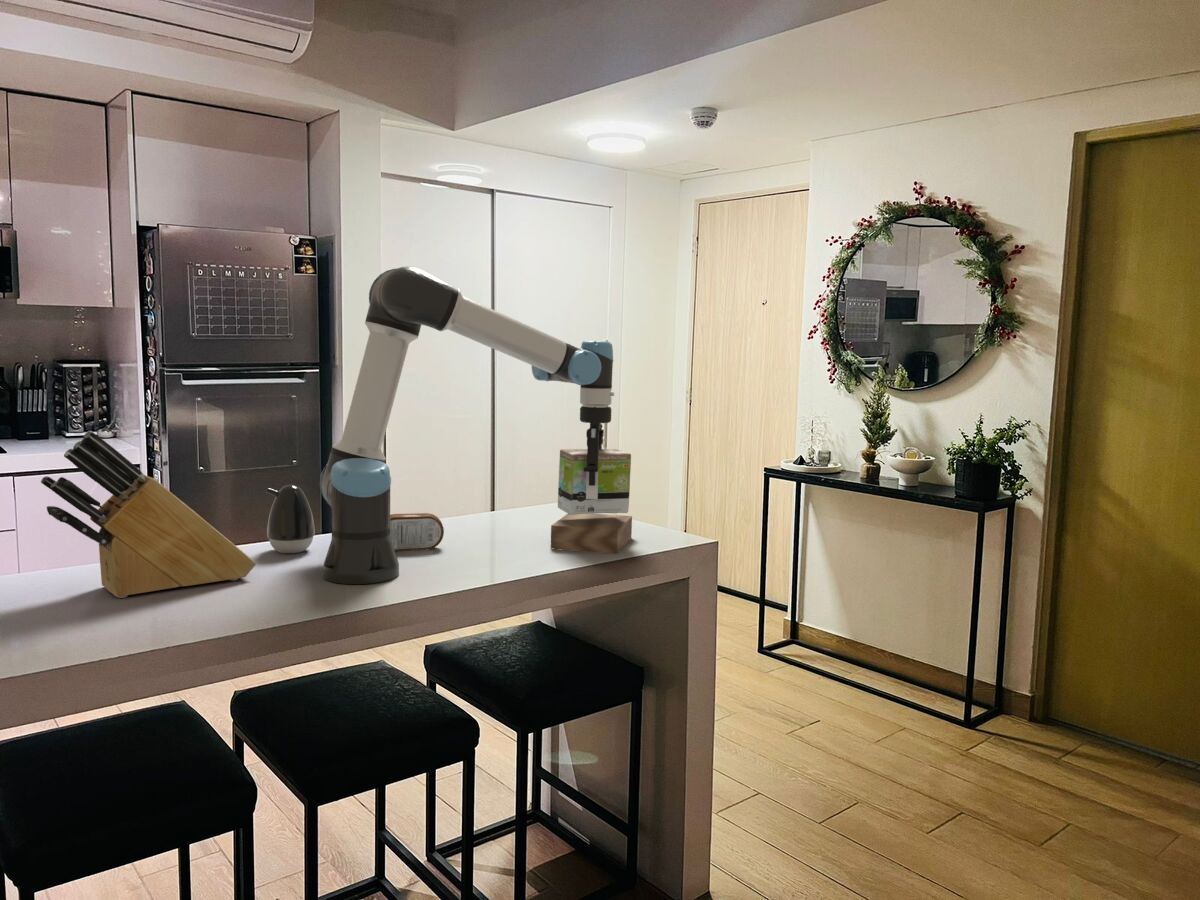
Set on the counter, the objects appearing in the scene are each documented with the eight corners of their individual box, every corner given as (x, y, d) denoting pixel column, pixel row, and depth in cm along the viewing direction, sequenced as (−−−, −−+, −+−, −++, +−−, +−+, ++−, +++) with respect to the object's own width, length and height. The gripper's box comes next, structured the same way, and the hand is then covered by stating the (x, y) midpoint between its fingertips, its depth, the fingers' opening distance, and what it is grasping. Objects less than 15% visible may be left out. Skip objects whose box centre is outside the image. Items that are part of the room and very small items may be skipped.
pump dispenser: (273, 545, 215) (271, 480, 213) (319, 546, 216) (318, 481, 214) (261, 556, 205) (259, 488, 203) (309, 556, 206) (308, 488, 204)
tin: (442, 546, 218) (442, 511, 217) (444, 549, 215) (445, 514, 214) (377, 549, 214) (377, 513, 213) (378, 553, 211) (378, 516, 210)
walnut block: (550, 550, 219) (551, 525, 218) (569, 535, 237) (570, 511, 236) (617, 555, 216) (617, 530, 215) (631, 539, 233) (632, 516, 232)
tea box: (571, 516, 218) (572, 453, 216) (557, 508, 227) (558, 448, 225) (630, 513, 223) (631, 452, 222) (613, 505, 233) (615, 447, 231)
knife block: (44, 594, 172) (36, 428, 168) (237, 567, 194) (233, 420, 191) (56, 609, 163) (48, 434, 159) (257, 579, 186) (254, 425, 182)
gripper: (608, 410, 210) (606, 503, 212) (613, 402, 234) (611, 486, 237) (575, 409, 210) (573, 502, 213) (584, 401, 234) (582, 485, 237)
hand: (593, 494), depth 225 cm, fingers closed on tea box, 12 cm apart
